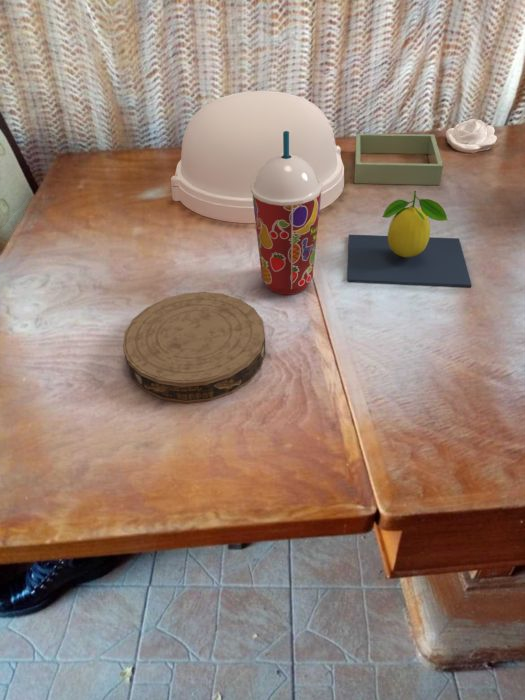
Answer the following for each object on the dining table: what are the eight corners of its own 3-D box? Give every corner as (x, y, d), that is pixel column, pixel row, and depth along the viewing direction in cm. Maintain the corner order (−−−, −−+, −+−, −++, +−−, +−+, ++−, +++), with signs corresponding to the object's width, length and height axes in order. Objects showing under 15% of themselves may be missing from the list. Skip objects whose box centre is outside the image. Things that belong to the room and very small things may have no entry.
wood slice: (196, 296, 71) (193, 277, 69) (293, 344, 63) (293, 324, 61) (99, 361, 62) (92, 341, 60) (197, 426, 54) (194, 406, 52)
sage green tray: (431, 152, 104) (434, 134, 101) (439, 185, 93) (443, 165, 91) (354, 151, 106) (356, 133, 103) (354, 183, 95) (355, 164, 92)
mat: (458, 240, 79) (459, 238, 79) (471, 287, 70) (471, 284, 70) (348, 236, 81) (348, 234, 81) (347, 281, 72) (347, 279, 72)
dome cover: (307, 140, 111) (308, 65, 101) (381, 200, 89) (391, 112, 80) (154, 167, 103) (140, 89, 94) (195, 240, 82) (183, 148, 72)
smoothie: (327, 294, 70) (336, 139, 57) (266, 306, 69) (260, 151, 55) (305, 261, 76) (308, 115, 63) (249, 272, 75) (239, 124, 61)
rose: (509, 118, 104) (489, 133, 98) (503, 141, 106) (483, 157, 101) (460, 109, 109) (438, 123, 103) (455, 131, 111) (434, 146, 106)
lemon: (438, 265, 74) (452, 196, 67) (400, 274, 72) (411, 205, 66) (411, 242, 78) (422, 176, 72) (376, 250, 77) (383, 183, 70)
